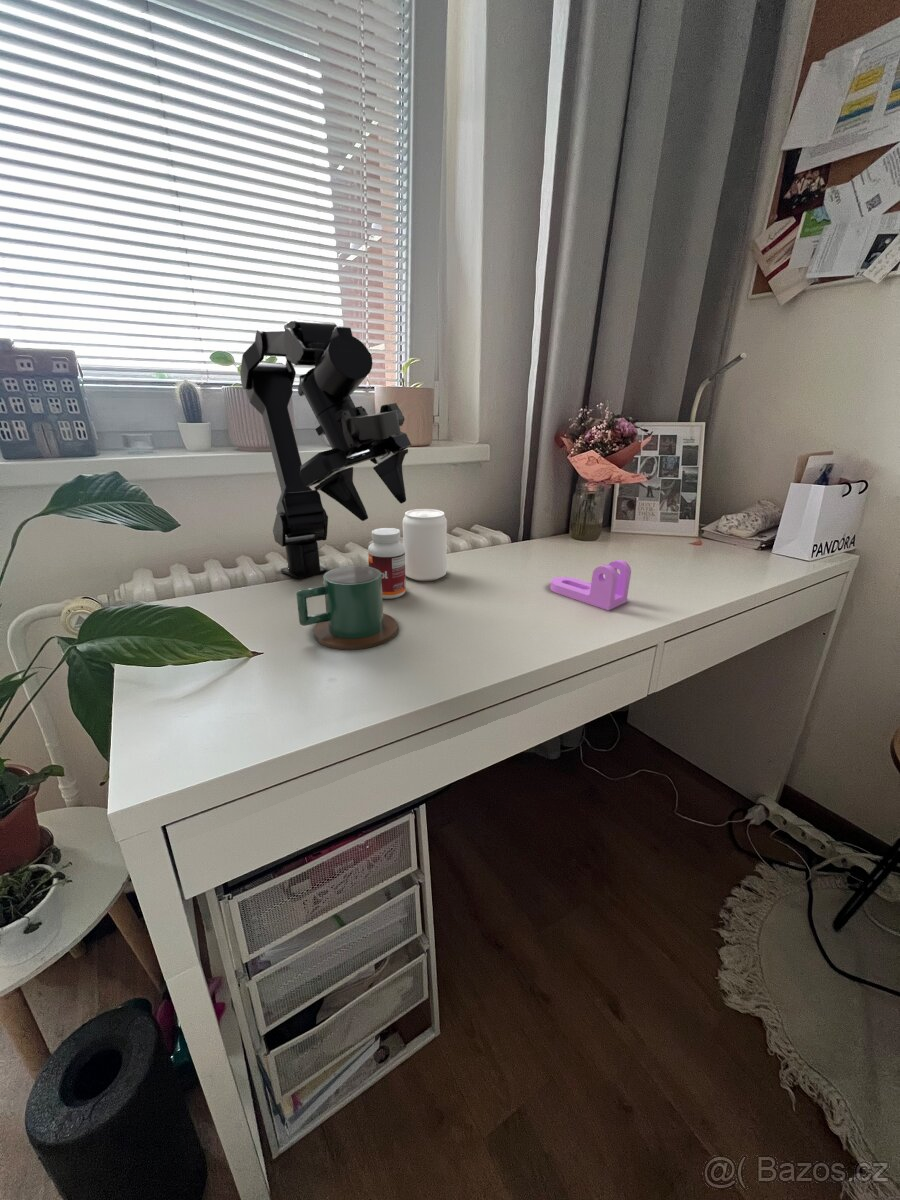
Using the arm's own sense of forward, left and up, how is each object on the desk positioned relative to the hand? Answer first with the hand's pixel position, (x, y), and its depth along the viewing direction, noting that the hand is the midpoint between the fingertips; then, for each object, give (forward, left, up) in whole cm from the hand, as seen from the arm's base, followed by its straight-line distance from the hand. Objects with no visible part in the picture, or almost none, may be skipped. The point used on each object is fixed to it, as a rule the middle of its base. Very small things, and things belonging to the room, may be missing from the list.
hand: (385, 510), depth 75 cm
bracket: (+20, +28, -16) cm, 37 cm away
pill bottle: (-5, +5, -16) cm, 18 cm away
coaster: (+3, -8, -16) cm, 18 cm away
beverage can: (-7, +16, -16) cm, 24 cm away
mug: (+2, -10, -15) cm, 19 cm away
